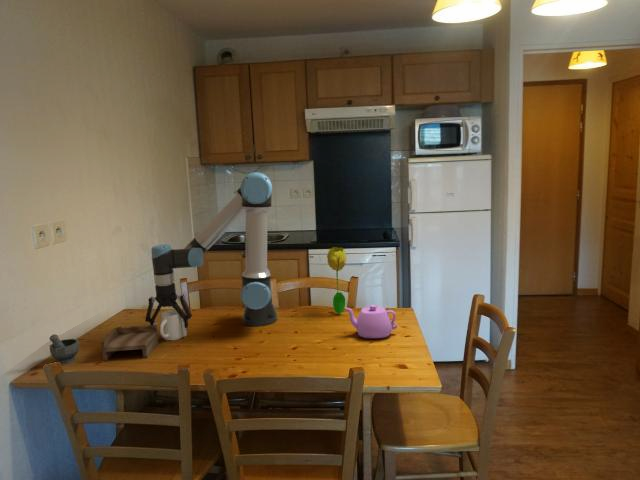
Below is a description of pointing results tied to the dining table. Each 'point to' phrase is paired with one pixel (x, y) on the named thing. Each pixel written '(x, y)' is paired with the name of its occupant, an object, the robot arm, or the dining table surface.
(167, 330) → the mug
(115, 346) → the shelf
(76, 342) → the mortar and pestle
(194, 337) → the dining table surface
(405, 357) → the dining table surface
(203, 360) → the dining table surface
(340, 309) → the flower
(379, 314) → the teapot
